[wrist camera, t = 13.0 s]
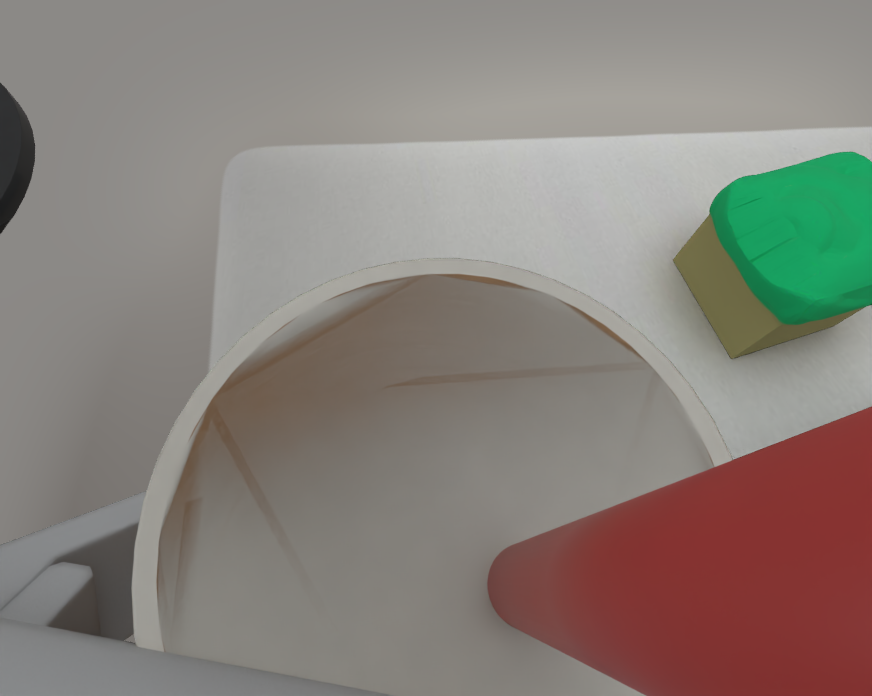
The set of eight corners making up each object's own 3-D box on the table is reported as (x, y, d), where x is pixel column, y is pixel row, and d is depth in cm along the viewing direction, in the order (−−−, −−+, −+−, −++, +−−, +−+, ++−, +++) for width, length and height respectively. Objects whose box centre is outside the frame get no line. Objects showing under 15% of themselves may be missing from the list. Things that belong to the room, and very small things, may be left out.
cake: (647, 256, 39) (719, 157, 29) (771, 222, 40) (876, 117, 31) (715, 376, 35) (821, 305, 26) (848, 332, 37) (993, 251, 27)
